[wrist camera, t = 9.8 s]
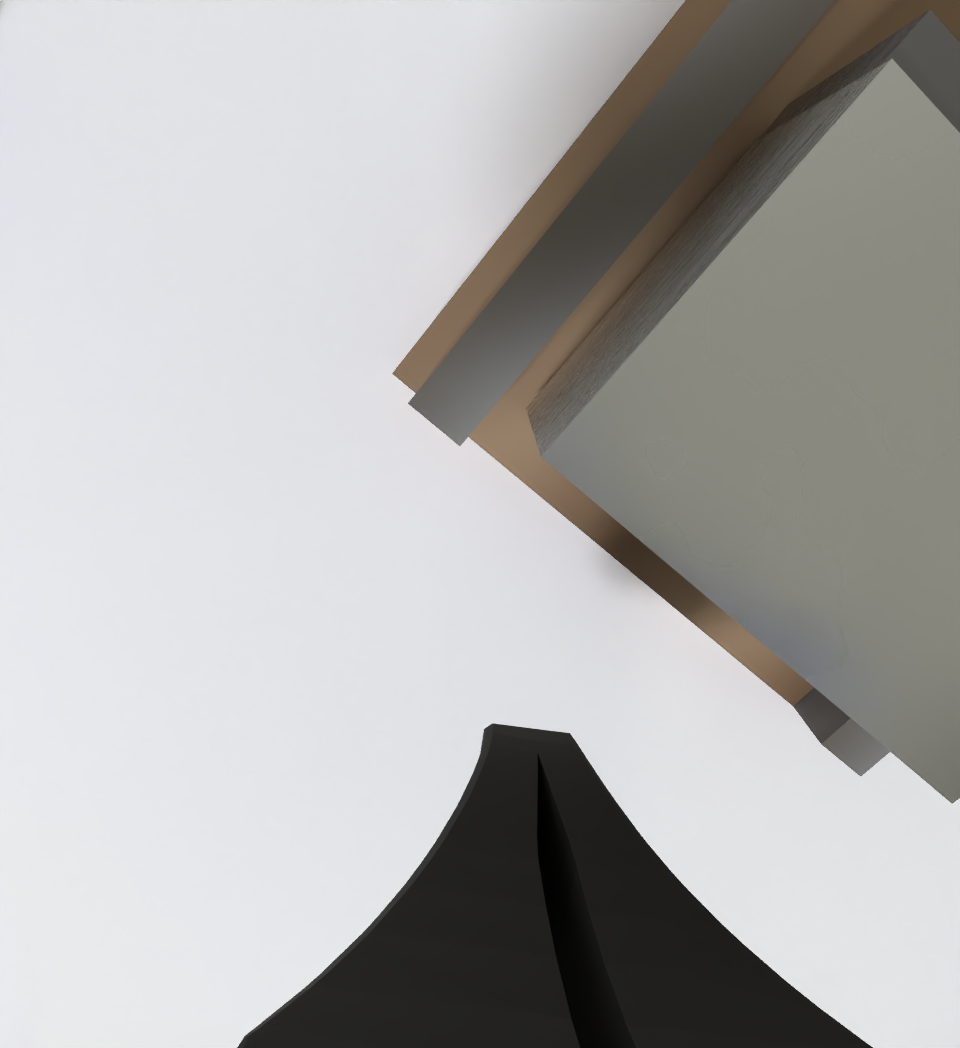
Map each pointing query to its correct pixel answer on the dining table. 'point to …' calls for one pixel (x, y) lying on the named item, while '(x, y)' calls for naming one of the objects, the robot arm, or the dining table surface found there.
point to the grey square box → (805, 396)
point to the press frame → (640, 263)
